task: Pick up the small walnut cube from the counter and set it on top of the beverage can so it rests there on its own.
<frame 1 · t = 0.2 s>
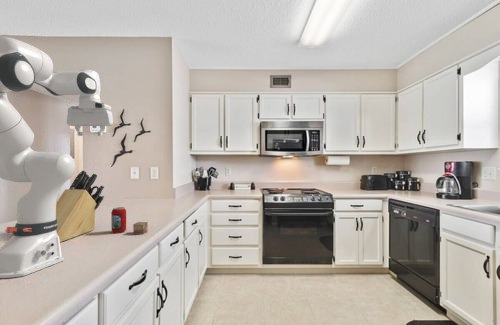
hand: (90, 135, 132), 47 cm above the countertop, tool pointing down, fingers open, 8 cm apart
beverage can: (119, 232, 143), on the countertop
knife block: (73, 234, 139), on the countertop
walnut block: (140, 233, 140), on the countertop
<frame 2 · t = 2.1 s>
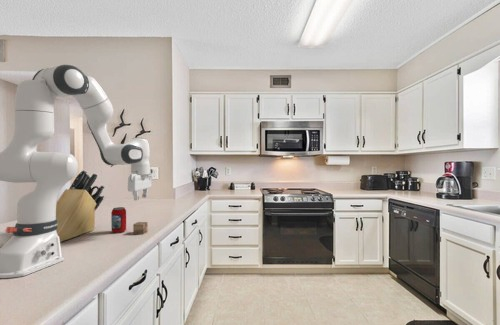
hand: (140, 198, 140), 17 cm above the countertop, tool pointing down, fingers open, 8 cm apart
nothing on the countertop moved.
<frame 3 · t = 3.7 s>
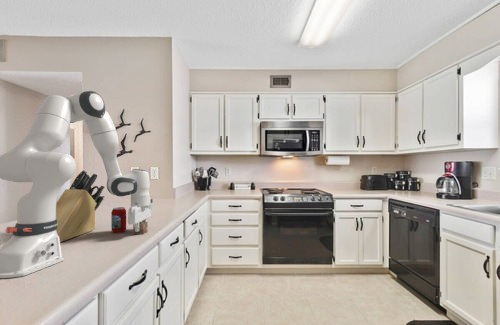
hand: (140, 229, 140), 2 cm above the countertop, tool pointing down, fingers closed on walnut block, 5 cm apart
walnut block: (140, 233, 140), on the countertop, touching gripper
everything else where it was.
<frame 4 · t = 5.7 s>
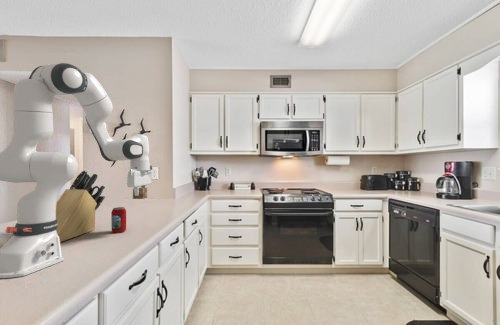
hand: (140, 195, 140), 19 cm above the countertop, tool pointing down, fingers closed on walnut block, 5 cm apart
walnut block: (140, 198, 140), point 17 cm above the countertop, touching gripper
everything else where it was.
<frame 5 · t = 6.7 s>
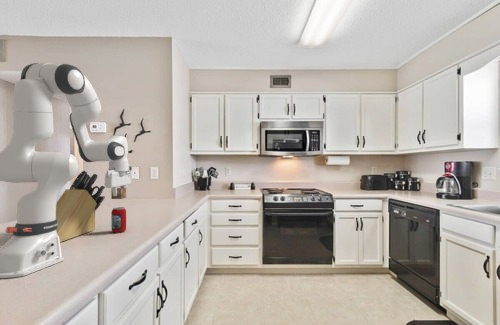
hand: (118, 195, 143), 18 cm above the countertop, tool pointing down, fingers closed on walnut block, 5 cm apart
walnut block: (118, 198, 143), point 17 cm above the countertop, touching gripper
everything else where it was.
when the fingers open (15 cm above the countertop, at t = 7.6 s): walnut block drops 2 cm, resting on beverage can.
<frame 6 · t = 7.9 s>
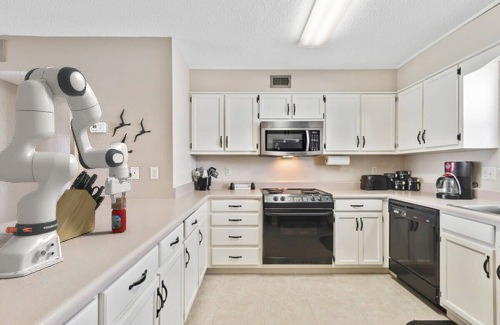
hand: (118, 201, 143), 15 cm above the countertop, tool pointing down, fingers open, 8 cm apart
beverage can: (119, 232, 143), on the countertop, touching walnut block
walnut block: (118, 208, 143), point 12 cm above the countertop, touching beverage can
everything else where it was.
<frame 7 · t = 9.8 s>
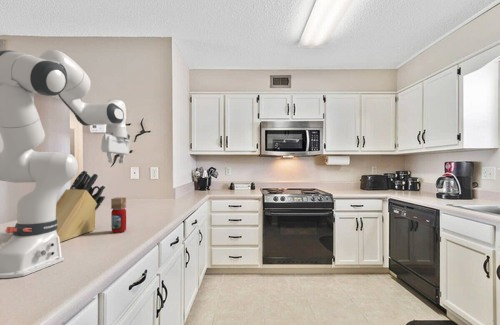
hand: (116, 163, 135), 35 cm above the countertop, tool pointing down, fingers open, 8 cm apart
nothing on the countertop moved.
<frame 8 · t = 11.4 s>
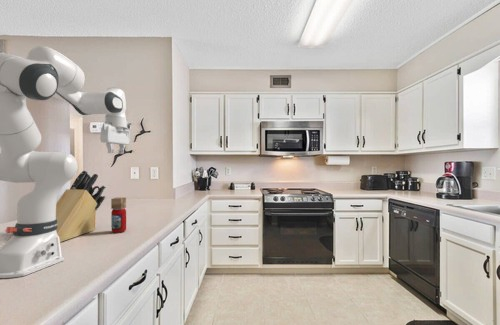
hand: (116, 153, 132), 39 cm above the countertop, tool pointing down, fingers open, 8 cm apart
nothing on the countertop moved.
at the end: walnut block 0.1 cm from the beverage can (horizontally); walnut block point 12.0 cm above the countertop; walnut block tilted 0° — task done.
